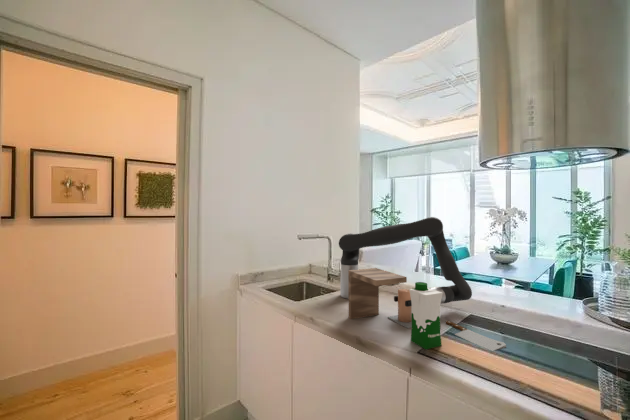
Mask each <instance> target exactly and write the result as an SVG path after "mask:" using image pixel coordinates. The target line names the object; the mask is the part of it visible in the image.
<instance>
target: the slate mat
mask: <svg viewBox="0 0 630 420" xmlns="http://www.w3.org/2000/svg"><path fill="white" fill-rule="evenodd" d="M387 319H389V320H391V321H392V322H394V323H397V324H398V325H400V326H402V327H404V328H406V329H410V328H411V329H412V321H411V322H401V321H399V320H398V314H396V315H391V316H387Z"/></svg>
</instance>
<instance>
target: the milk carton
mask: <svg viewBox="0 0 630 420" xmlns="http://www.w3.org/2000/svg"><path fill="white" fill-rule="evenodd" d="M430 288H431V287H428V283H426V282H422V281H418V282H417V281H416V282H414V288H409V289H408V290H409V291H410V296H411V302H412V327H411V330H410V331H411V332H410V334H411V335H410V342H411V343H414V344H415V345H417V346H419V347H420V348H422V349H424V350H430V349H434V348H438V347H442V337H441V336H442V335H441V305H442V304H441V299H442V294H443V293H442V292H439V291H437V290H434V289H430Z"/></svg>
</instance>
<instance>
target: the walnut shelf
mask: <svg viewBox="0 0 630 420" xmlns="http://www.w3.org/2000/svg"><path fill="white" fill-rule="evenodd" d="M407 278H408V277H407V276H404V275H402V274H397V273H394V272H390V271H387V270H384V269H381V268H378V267H373V268H372V267H371V268H361V269H359V268H358V270H348V318H349V319H350V320H354V319H360V318H365V317H366V318H367V317H373V316H377V315H380V312H379V311H380V309H379V307H380V306H379V305H380V304H379V301H380V299H379V298H380V297H379V295H380V294H379V293H380V292H379V291H380V287H379V286H387V285H395V284H397V285H398V284H404V283H407Z"/></svg>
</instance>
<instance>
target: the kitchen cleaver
mask: <svg viewBox="0 0 630 420" xmlns="http://www.w3.org/2000/svg"><path fill="white" fill-rule="evenodd" d="M445 325H447V326H450V327H452V328H454V329H456V330H459V332H457V333H454V335H455V336H456V337H459V338H462V339H463V340H466V341H468V342H470V343H472V344H475V345H478V346H480V347H482V348H485V349H487V350H489V351H492V352H494V351H497V350H500V349H504V348H507V344H506V343H505V342H503V341H501V340H496V339H493V338H490V337H488V336H485V335H482V334H480V333H478V332H474V331H472V329H471V330H470V329H469V328H466V327H464V326H462V325H459V324H457V323H455V322H453V321H450V320H446V321H445Z"/></svg>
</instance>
